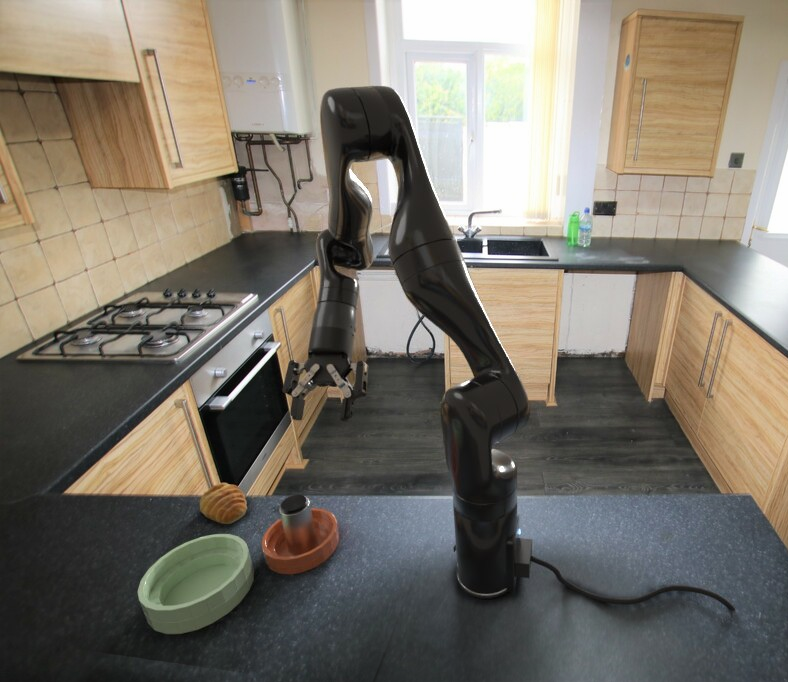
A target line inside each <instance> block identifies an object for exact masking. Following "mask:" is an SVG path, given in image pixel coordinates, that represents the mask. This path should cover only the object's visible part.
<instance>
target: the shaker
mask: <svg viewBox="0 0 788 682" xmlns="http://www.w3.org/2000/svg"><path fill="white" fill-rule="evenodd" d="M311 508H312V507H311V502H310V499H309V498H308V497H307V496H305V495H304V494H298V493H297V494H292V495H289V496H288V497H286V498H285V499H283V500H282V501H281V503H280V505H279V508H278V511H279V515H280V518H281V520H282V525H283V529H284V533H285V538H286V542H287V546H288V551H289V553H290V554H291V555H292V556H297V555H301V554H304V553H306V552H309V551H311V550H313V549H314V548H316V546H317V537H316V532H315V527H314V522H313V517H312V512H311Z"/></svg>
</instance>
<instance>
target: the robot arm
mask: <svg viewBox="0 0 788 682" xmlns="http://www.w3.org/2000/svg"><path fill="white" fill-rule="evenodd" d="M319 125H320V135H321V142H322V143H321V144H322V150H323V152H322V153H323V159H324V167H325V173H326V181H327V186H328V197H329V198H328V199H329V201H328V203H329V204H328V216H327V228H325V229H323V230H322V231H321V232H320V233H319V234H318V235H317V237H316V241H315V251H316V256H317V262H318V268H319V288H318V294H317V295H318V296H317V301H316V307H315V310H314V314H313V317H312V323H311V330H310V336H309V342H308V347H307V359H306V361H305V362H300V361H296V360H295V359H291V360H289V361H288V365H287V368H286V373H285V378H284V382H283V386H282V393H284V394H286V395H288V396H291V404H290V411H289V415H290V417H291V418H292V420H294V421H302V420H303V416H304V411H305V404H306V397H307V396H308V395H309V393H310V392H312V391H314V390H315V389H316V388H317V387H319V388H324V387H332V388H337V387H338V388H339V389H340V391H341V393H342V394H343V396H344V398H342V400H341V408H340V416H339V419H340V421H341V422H349V421H350V419H352V417H353V416H354V407H355V401H356V400H357V399H359V398H361V397H362V398H365V397H366V396H367V395H368V394H367V393H368V379H369V365H368V364H367V363H366V362H364V361H362V360H358V361H357V362H352V358H353V353H354V345H355V339H356V333H357V321H358V320H357V319H358V317H357V313H358V304H359V298H360V297H359V296H360V284H359V282H358V281H357V280H356V279H355V278H353V277H350V276H348V275H346V274H343V273H342V272H340V271H338V270H337V269H336V268H340V269H345V270H349V271H355V272H356V271H357V272H362V271H365V270H368V269H369V268H370V267H371V265H372V264H373V262H374V258H375V247H374V242H373V238H372V236H371V233H370V231H371V230H370V229H371V224H372V218H373V212H374V205H373V199H372V197H371V194H370V192H369V190H368V189H367V188H366V187H365V186H364V184H363V183H362V182H361V181H360V180H359V179H358V178H357V176H356V175H355V174H354V172H353V171H352V169H351V166H352V165H353V164H354V163H367V162H374V161H375V162H376V161H381V160H388V161H389V162H390V163H391V165H392V167H393V170H394V173H395V177H396V182H397V197H396V204H395V209H394V213H393V218H392V222H391V226H390V231H389V236H388V247H387V250H388V257H389V259H390V262H391V266H392V267H393V269H394V272H395V275H396V277H397V279H398V282H399V284H400V286H401V289H402V292H403V294H404V296H405V297H406V299H407V300H408V302H409V303H410V304H411V305H412V307H414V309H416V310H417V311H418V312H419V313H420V314H421V315H422V316H423V317H424V318H426V319H427V320H428V321H429V322H431V323H432V324H433V325H434V326H435V327H437V328H438V329H439V330H440V331H442V332H443V334H445V335H447V337H449V338H450V339H451V340H452V341H453V342H454V344H455V345H456V346H457V347H458V349H459V350H460V352H461V354H462V355H463V357H464V358H465V361H466V362H467V364H468V366H469V368H470V371H471V373H472V376H473V377H472V378H470V379H467V380H464V381H462V382H459V383H458V384H455V385H453V386H451V387H450V388H448V389H446V391H444V393H443V395H442V398H441V400H440V407H439V410H440V412H439V413H440V426H441V432H442V439H443V448H444V456H445V462H446V466H447V470H448V471H449V472H448V473H449V475H450V478H451V491H452V507H453V522H454V525H453V526H454V541H455V544H454V546H453V553H455V556H456V579H457V583H458V585H459V587H460V588H461V589H462V590H463V591H464V592H465V593H466V594H467V595H469V596H471V597H473V598H477V599H481V600H482V599H483V600H486V599H487V600H489V599H495V598H498V597H501V596H503V595H505V594H506V593H510V594H511V593H515V591H516V585H517V584H516V583H517V581H518V578H523V579H530V574H531V565H532V563H535V564H536V565H538V566H539V565H540V566H541V567H544V568H546V569H548V570H550V571H551V572H552V573H553V574H554V575H555V577H556V579H557V580H558V582H559V583H561V584H562V585H564V586H565V587H566V588H568V589H570V590H572V591H575V592H577V593H580V594H581V595H584V596H585V597H588V598H590V599H592V600H594V601H598V602H601V603H607V604H615V605H635V604H639V603H643V602H646V601H648V600H651V599H652V598H654V597H657V596H658V595H659V596H660V595H661V594H664V593H668V592H675V591H676V592H677V591H678V592H690V593H695V594H700V595H703V596H706V597H707V596H708V597H710V598H712V599H714V600H716V601H718V602H719V603H721V604H722V605H723V606H725V607H726V608H727V610H729V611H732V612H733V611H736V609H735V606H734V605H732V603H731V602H729V601H728V600H727V599H726V598H724V597H723V596H721V595H719V594H718V593H717V592H713V591H712V590H709V589H706V588H703V587H698V586H693V585H683V584H670V585H664V586H661V587H658V588H657V589H654V590H652V591H649V592H647V593H645V594H642V595H640V596H637V597H630V598H621V597H619V598H618V597H612V596H611V597H610V596H605V595H600V594H596V593H593V592H590V591H587V590H585V589H583V588H582V587H581V588H580V587H579V586H578V585H577V586H576V585H575V584H573V583H572V582H570V581H568V580H567V579H565V578H564V576H562V574H561V572H560V570H559V569H558V568H557V567H555V566H554V565H553V564H552V563H549V562H547V561H546V560H543V559H541V558H539V557H536V556H533V539H532V538H526V537H520V535H521V533H522V532H521V529H520V513H518V466H517V464H516V462H515V460H514V458H513V457H512V456H510V455H509V454H508V453H506V452H504V451H502V450H500V449H497V448H493V446H495V445H497V444H498V443H501V442H502V441H505V440H506V439H508V438H510V437H511V436H513V435H515V434H516V433H518V432H520V431H521V430H523V429H524V428H525V427H526V426H527V424H528V423H529V420H530V415H531V407H530V406H531V405H530V400H529V397H528V393H527V390H526V388H525V386H524V384H523V381H522V380H521V377H520V376H519V373H518V372H517V370H516V368H515V366H514V364H513V362H512V360H511V358H510V357H509V355H508V353H507V351H506V349H505V348H504V346H503V344H502V342H501V340H500V338H499V336H498V334H497V332H496V331H495V328H494V327H493V324H492V322H491V320H490V318H489V316H488V313H487V311H486V309H485V306H484V305H483V303H482V300H481V298H480V296H479V293H478V292H477V291H478V290H477V289H476V286H475V284H474V282H473V279H472V277H471V274H470V272H469V271H470V270H469V269H468V266H467V263H466V261H465V258H464V256H463V254H462V250H461V248H460V246H459V243H458V242H457V240H456V237H455V235H454V233H453V231H452V228H451V227H450V224H449V222H448V220H447V218H446V215H445V213H444V210H443V208H442V206H441V203H440V201H439V198H438V196H437V193H436V191H435V188H434V186H433V183H432V181H431V178H430V175H429V172H428V168H427V166H426V162H425V159H424V157H423V154H422V153H423V152H422V150H421V148H420V147H421V146H420V144H419V141H418V138H417V135H416V131H415V128H414V126H413V122H412V119H411V116H410V114H409V112H408V109H407V107H406V105H405V103H404V101H403V99H402V97H401V96H400V94H399V93H398V92H397V91H396V89H394V88H392V87H390V86H387V85H367V86H351V87H349V86H347V87H346V86H345V87H335V88H330V89H328V90H326V91H325V93H324V94H323V95H322V97H321V101H320V106H319ZM304 371H305V373H306V374H305V375H304V376H303V377H302V378H301V380H300V377H301V375H302V374H303V373H304ZM352 371H353V373H354V374H355V383H354V389H353V386H352V384H351V383H350V381H349V379H348V377H349V375H350V373H351V372H352Z"/></svg>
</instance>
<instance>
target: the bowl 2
mask: <svg viewBox="0 0 788 682" xmlns="http://www.w3.org/2000/svg"><path fill="white" fill-rule="evenodd" d="M311 512H312V517H313V522H314V527H315V532H316V537H317V546H316V548H314V549H313V550H311V551H309V552H306V553H304V554H301V555H297V556H292V555H291V554H290V553H289V551H288V546H287V542H286V538H285V533H284V529H283V525H282V520H281V517H280V518H279V519H277V520H276V521H275V522H273V523H272V524H271V525H270V526H269V527H268V529H266V531H265V533H264V534H263V537H262V539H261V551H262V554H263V558H264V562H265V564H266V566H267V567H268V569H269V570H270V571H273V572H275V573H277V574H279V575H287V576H289V575H297V574H302V573H305V572H307V571H310V570H313V569H315V568H317V567H318V566H320V565H321V564H323V563H325V562H326V561H327V560H328V559H329V558H330V557H331V556H332V555H333V554H334V552H335V551H336V549H337V548H338V547H339V546H338V545H339V541H340V531H339V527H338V522H337V518H336V516H335V515H334V514H333V513H332V512H331V511H329V510H326V509H325V508H317V507H311Z"/></svg>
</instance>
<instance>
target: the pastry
mask: <svg viewBox="0 0 788 682" xmlns="http://www.w3.org/2000/svg"><path fill="white" fill-rule="evenodd" d="M198 504H199V510H200V512H201V513H202V515H204V517H205V518H207V519H210V520H211V521H214V522H217V523H219V524H222V525H232V524H233V523H234V522H237V521H239V520H240V519H242V518H243V517H244V516H245V515H246V512H247V511H248V506H247V500H246V494H245V493H244V492H243V491H242V490H241V489H240V486H238V485H236V484H229V483H228V482H220V483H217V484H214V485H212V486H211V487H209V488H208V489H207V490H206V491H204V493H203V494H202V496H201V497H200V499H199V503H198Z"/></svg>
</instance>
